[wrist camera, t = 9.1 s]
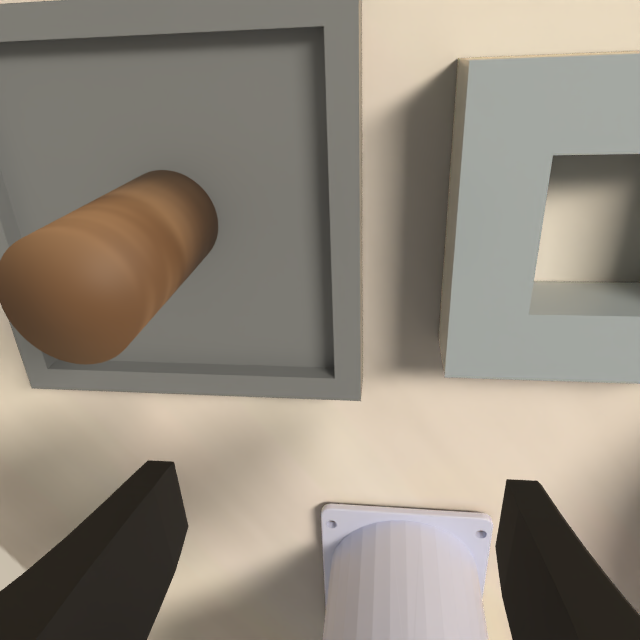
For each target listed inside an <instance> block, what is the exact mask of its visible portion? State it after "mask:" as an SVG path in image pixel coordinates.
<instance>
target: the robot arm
mask: <svg viewBox="0 0 640 640" xmlns="http://www.w3.org/2000/svg"><path fill="white" fill-rule="evenodd" d="M330 520H332V521H335V522H331V521H330ZM187 529H188V523H187V518H186V514H185V509H184V505H183V500H182V496H181V492H180V487H179V483H178V478H177V474H176V469H175V465H174V462H166V461H147V462H146V463H145V464H144V465H143V466H142V467H141V468H139V469H138V470H137V471H136V472H135V473H134V474H133V475H132V476H131V477H130V478H129V479H128V480H127V481H126V482H125V483H124V484H122V485H121V486H120V487H119V488H118V489H117V490H116V491H115V492H114V493H113V494H112V495H111V496H110V497H109V498H108V499H107V500H106V501H105V502H104V503H103V504H101V505H100V506H99V507H98V508H97V509H96V510H95V511H94V512H93V513H92V514H91V515H90V516H89V517H87V518H86V519H85V520H84V521H83V522H82V523H81V524H80V525H79V526H78V527H77V528H75V529H74V530H73V531H72V532H71V533H70V534H69V535H68V536H67V537H66V538H64V539H63V540H62V541H61V542H60V543H59V544H57V545H56V546H55V547H54V548H53V549H52V550H50V551H49V552H48V553H47V554H46V555H45V556H43V557H42V558H41V559H40V560H39V561H38V562H36V563H35V564H34V565H33V566H32V567H31V568H29V569H28V570H27V571H26V572H24V573H23V574H22V575H21V576H19V577H18V578H17V579H16V580H15V581H13V582H12V583H11V584H9V585H8V586H7V587H5V588H4V589H3V590H1V591H0V640H147V638H148V636H149V633H150V631H151V628H152V626H153V624H154V621H155V619H156V617H157V614H158V612H159V610H160V607H161V605H162V602H163V600H164V598H165V595H166V593H167V590H168V588H169V586H170V583H171V581H172V578H173V576H174V573H175V571H176V567H177V564H178V561H179V557H180V554H181V551H182V547H183V544H184V540H185V536H186V533H187ZM321 529H322V548H323V568H324V587H325V606H326V613H325V621H324V630H323V638H322V640H489V639H488V632H487V626H486V620H485V614H484V608H483V602H482V598H483V591H484V584H485V578H486V571H487V564H488V558H489V551H490V544H491V537H492V531H493V523H492V518H491V517H490V516H489V515H487V514H484V513H474V512H458V511H442V510H426V509H410V508H394V507H379V506H363V505H347V504H326V505H324V506H323V507H322V511H321ZM480 530H482V531H481V532H478V531H480ZM496 555H497V563H498V570H499V578H500V585H501V591H502V598H503V602H504V606H505V610H506V614H507V618H508V623H509V627H510V631H511V635H512V639H513V640H640V615H639V614H638V613H637V612H636V610H635V609H634V608H633V607H632V606H631V604H630V603H629V602H628V601H627V600H626V599H625V597H624V596H623V595H622V594H621V592H620V591H619V590H618V589H617V588H616V586H615V585H614V584H613V583H612V581H611V580H610V579H609V578H608V576H607V575H606V574H605V572H604V571H603V570H602V569H601V567H600V566H599V565H598V563H597V562H596V561H595V560H594V558H593V557H592V556H591V554H590V553H589V552H588V550H587V549H586V548H585V546H584V545H583V544H582V542H581V541H580V540H579V538H578V537H577V536H576V534H575V533H574V531H573V530H572V529H571V527H570V526H569V524H568V523H567V522H566V520H565V519H564V517H563V516H562V515H561V513H560V512H559V510H558V509H557V507H556V506H555V504H554V503H553V501H552V500H551V498H550V497H549V496H548V494H547V493H546V491H545V489H544V488H543V486H542V485H541V484H540V483H539V482H538V481H529V480H509V479H507V480H506V486H505V492H504V498H503V504H502V510H501V516H500V522H499V528H498V534H497V541H496Z"/></svg>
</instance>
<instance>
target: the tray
mask: <svg viewBox="0 0 640 640" xmlns="http://www.w3.org/2000/svg"><path fill="white" fill-rule="evenodd" d="M155 170H169V171H174V172H177V173H181V174H183V175H185V176H187V177H189V178H190V179H192V180H193V181H195V182H196V183H197V184H199V185H200V186H201V187H202V188H203V189H204V191H205V192H206V193H207V194H208V196H209V197H210V199H211V201H212V203H213V205H214V207H215V210H216V213H217V218H218V235H217V239H216V242H215V244H214V246H213V248H212V250H211V251H210V252H209V254H208V255H207V256H206V257H205V258H204V259H203V261H202V262H201V263H200V264H199V265H198V266H197V267H196V269H195V270H194V271H193V272H192V273H191V274H190V275H189V277H188V278H187V279H186V280H185V281H184V282H183V283H182V285H181V286H180V287H179V288H178V289H177V290H176V291H175V293H174V294H173V295H172V296H171V297H170V298H169V299H168V301H167V302H166V303H165V304H164V305H163V306H162V307H161V309H160V310H159V311H158V312H157V313H156V314H155V316H154V317H153V318H152V319H151V320H150V321H149V322H148V324H147V325H146V326H145V327H144V328H143V329H142V330H141V332H140V333H139V334H138V335H137V336H136V337H135V338H134V340H133V341H132V342H131V343H130V344H129V345H128V346H127V348H126V349H125V350H124V351H123V352H122V353H120V354H119V355H117V356H116V357H115V358H113V359H110V360H108V361H105V362H102V363H97V364H86V365H84V364H74V363H69V362H65V361H62V360H59V359H56V358H54V357H52V356H49V355H48V354H46V353H44V352H42V351H40V350H39V349H37V348H36V347H34V346H33V345H32V344H31V343H29V342H28V341H27V340H26V339H25V338H24V337H23V336H22V335H21V334H20V333H19V332H18V331H17V330H16V329H15V327H14V326H13V325H12V323H11V322H10V321H9V322H10V325H11V328H12V331H13V334H14V337H15V340H16V343H17V346H18V349H19V352H20V355H21V358H22V361H23V364H24V366H25V369H26V372H27V375H28V378H29V381H30V384H31V387H32V388H37V389H63V390H89V391H115V392H141V393H167V394H193V395H219V396H246V397H272V398H298V399H324V400H350V401H361V393H362V381H363V298H362V0H58V1H41V2H24V3H7V4H0V260H1V258H2V256H3V254H4V253H5V252H6V250H7V249H8V248H9V247H10V246H11V245H12V244H13V243H15V242H16V241H18V240H19V239H21V238H23V237H25V236H27V235H29V234H31V233H32V232H34V231H36V230H38V229H40V228H42V227H44V226H46V225H48V224H50V223H51V222H53V221H55V220H57V219H59V218H61V217H63V216H65V215H67V214H69V213H70V212H72V211H74V210H76V209H78V208H80V207H82V206H84V205H86V204H88V203H89V202H91V201H93V200H95V199H97V198H99V197H101V196H103V195H105V194H107V193H109V192H110V191H112V190H114V189H116V188H118V187H120V186H122V185H124V184H126V183H128V182H129V181H131V180H133V179H135V178H137V177H139V176H141V175H143V174H145V173H148V172H151V171H155Z"/></svg>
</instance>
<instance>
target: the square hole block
mask: <svg viewBox="0 0 640 640" xmlns="http://www.w3.org/2000/svg"><path fill="white" fill-rule="evenodd" d="M599 154H640V51H622V52H597V53H572V54H547V55H522V56H497V57H472V58H458V66H457V80H456V95H455V109H454V123H453V137H452V152H451V166H450V180H449V195H448V209H447V223H446V238H445V252H444V266H443V280H442V295H441V309H440V323H439V338H438V339H439V345H440V352H441V358H442V364H443V371H444V377H451V378H482V379H513V380H544V381H575V382H606V383H637V384H640V282H556V281H534V276H535V270H536V263H537V256H538V250H539V243H540V237H541V230H542V224H543V217H544V211H545V204H546V198H547V191H548V185H549V178H550V172H551V165H552V159H553V155H599Z"/></svg>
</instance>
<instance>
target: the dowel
mask: <svg viewBox="0 0 640 640" xmlns="http://www.w3.org/2000/svg"><path fill="white" fill-rule="evenodd" d="M217 235H218V218H217V213H216V210H215V207H214V205H213V203H212V201H211V199H210V197H209V196H208V194H207V193H206V192H205V191H204V189H203V188H202V187H201V186H200V185H199V184H197V183H196V182H195V181H193V180H192V179H190V178H189V177H187V176H185V175H183V174H181V173H177V172H174V171H169V170H155V171H151V172H148V173H145V174H143V175H141V176H139V177H137V178H135V179H133V180H131V181H129V182H128V183H126V184H124V185H122V186H120V187H118V188H116V189H114V190H112V191H110V192H109V193H107V194H105V195H103V196H101V197H99V198H97V199H95V200H93V201H91V202H89V203H88V204H86V205H84V206H82V207H80V208H78V209H76V210H74V211H72V212H70V213H69V214H67V215H65V216H63V217H61V218H59V219H57V220H55V221H53V222H51V223H50V224H48V225H46V226H44V227H42V228H40V229H38V230H36V231H34V232H32V233H31V234H29V235H27V236H25V237H23V238H21V239H19V240H18V241H16V242H15V243H13V244H12V245H11V246H10V247H9V248H8V249H7V250H6V252H5V253H4V254H3V256H2V258H1V260H0V303H1V305H2V308H3V310H4V312H5V314H6V316H7V317H8V319H9V321H10V322H11V323H12V325H13V326H14V327H15V329H16V330H17V331H18V332H19V333H20V334H21V335H22V336H23V337H24V338H25V339H26V340H27V341H28V342H29V343H31V344H32V345H33V346H34V347H36V348H37V349H39V350H40V351H42V352H44V353H46V354H48V355H49V356H52V357H54V358H56V359H59V360H62V361H65V362H69V363H74V364H84V365H86V364H97V363H102V362H105V361H108V360H110V359H113V358H115V357H116V356H117V355H119V354H120V353H122V352H123V351H124V350H125V349H126V348H127V346H128V345H129V344H130V343H131V342H132V341H133V340H134V338H135V337H136V336H137V335H138V334H139V333H140V332H141V330H142V329H143V328H144V327H145V326H146V325H147V324H148V322H149V321H150V320H151V319H152V318H153V317H154V316H155V314H156V313H157V312H158V311H159V310H160V309H161V307H162V306H163V305H164V304H165V303H166V302H167V301H168V299H169V298H170V297H171V296H172V295H173V294H174V293H175V291H176V290H177V289H178V288H179V287H180V286H181V285H182V283H183V282H184V281H185V280H186V279H187V278H188V277H189V275H190V274H191V273H192V272H193V271H194V270H195V269H196V267H197V266H198V265H199V264H200V263H201V262H202V261H203V259H204V258H205V257H206V256H207V255H208V254H209V252H210V251H211V250H212V248H213V246H214V244H215V242H216V239H217Z"/></svg>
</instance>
